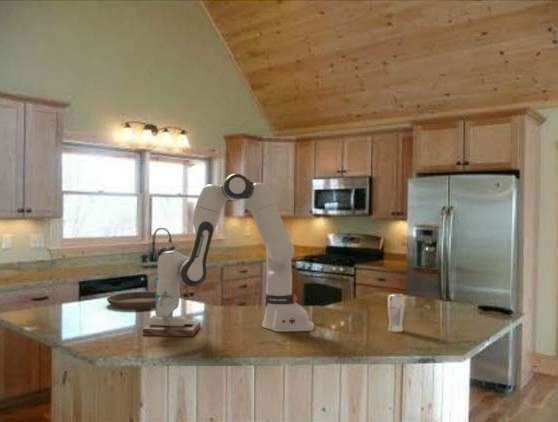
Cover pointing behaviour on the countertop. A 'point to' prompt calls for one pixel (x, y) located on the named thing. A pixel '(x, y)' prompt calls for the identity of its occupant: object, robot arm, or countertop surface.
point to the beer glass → (395, 312)
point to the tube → (156, 292)
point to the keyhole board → (172, 329)
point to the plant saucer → (133, 300)
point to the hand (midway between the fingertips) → (167, 323)
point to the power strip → (172, 321)
